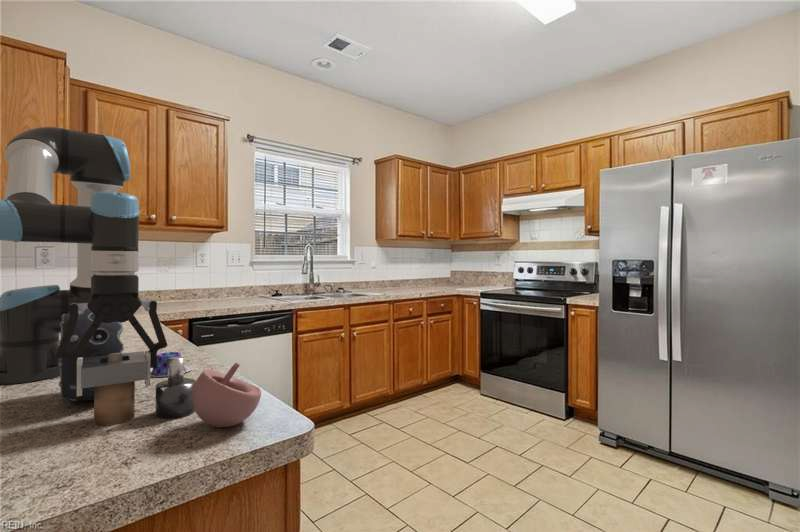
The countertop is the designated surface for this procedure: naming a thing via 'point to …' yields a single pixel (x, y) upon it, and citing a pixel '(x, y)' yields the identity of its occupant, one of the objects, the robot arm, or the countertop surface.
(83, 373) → the square hole block
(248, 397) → the mortar and pestle
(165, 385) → the dark bottle with stopper
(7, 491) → the countertop surface
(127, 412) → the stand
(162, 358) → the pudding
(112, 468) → the countertop surface
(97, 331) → the dark grey piece
